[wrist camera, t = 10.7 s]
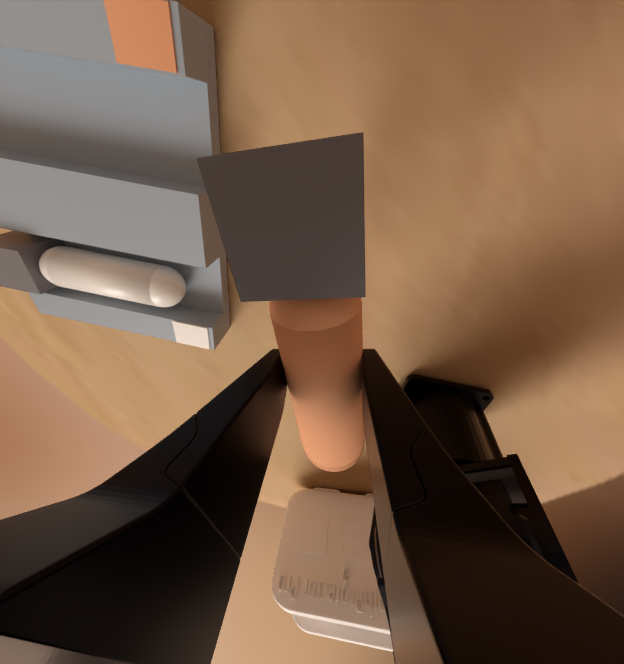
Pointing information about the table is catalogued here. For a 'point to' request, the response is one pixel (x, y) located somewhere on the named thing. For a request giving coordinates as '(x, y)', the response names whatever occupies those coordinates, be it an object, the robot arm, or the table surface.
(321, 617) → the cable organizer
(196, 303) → the ribbed grooved tray
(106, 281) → the white-handled mallet
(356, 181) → the orange-handled mallet
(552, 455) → the table surface
